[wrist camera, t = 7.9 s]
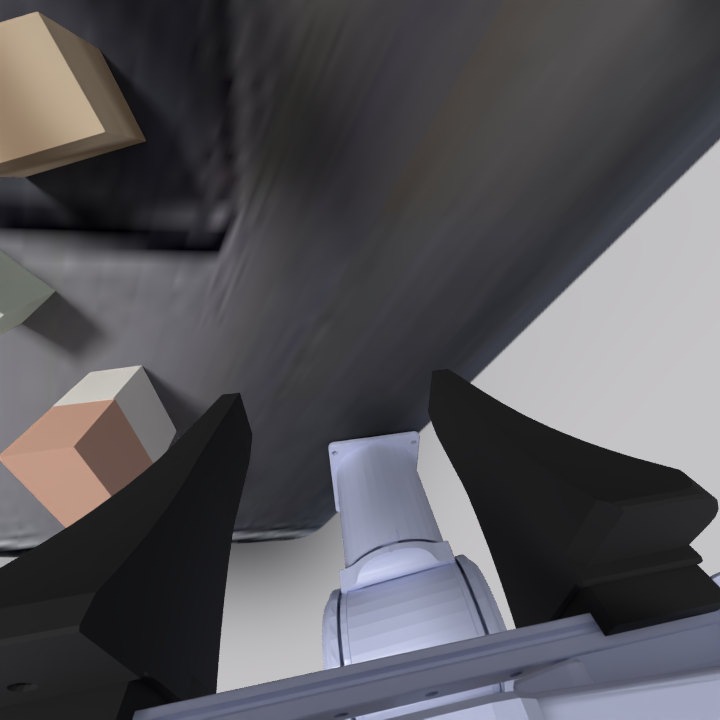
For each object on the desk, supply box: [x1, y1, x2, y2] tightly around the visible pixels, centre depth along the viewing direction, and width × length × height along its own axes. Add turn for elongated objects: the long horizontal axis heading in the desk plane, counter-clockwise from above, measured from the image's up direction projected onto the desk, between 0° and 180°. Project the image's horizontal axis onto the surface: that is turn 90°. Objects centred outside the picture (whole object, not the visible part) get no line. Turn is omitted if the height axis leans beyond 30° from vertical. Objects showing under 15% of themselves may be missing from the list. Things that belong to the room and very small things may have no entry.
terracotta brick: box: [0, 399, 153, 528], centre depth 17 cm, size 6×3×4 cm, turn 3°
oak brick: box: [0, 12, 146, 177], centre depth 12 cm, size 6×3×4 cm, turn 104°
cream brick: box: [52, 365, 177, 463], centre depth 20 cm, size 6×3×4 cm, turn 4°
